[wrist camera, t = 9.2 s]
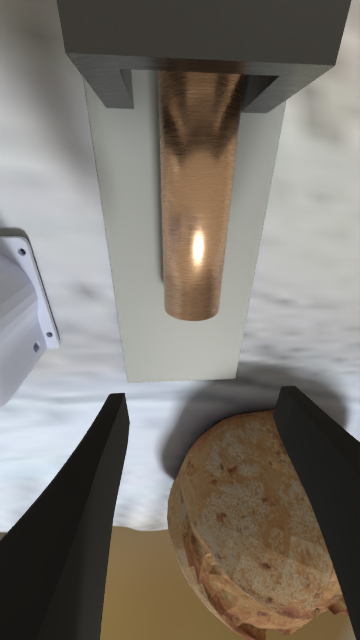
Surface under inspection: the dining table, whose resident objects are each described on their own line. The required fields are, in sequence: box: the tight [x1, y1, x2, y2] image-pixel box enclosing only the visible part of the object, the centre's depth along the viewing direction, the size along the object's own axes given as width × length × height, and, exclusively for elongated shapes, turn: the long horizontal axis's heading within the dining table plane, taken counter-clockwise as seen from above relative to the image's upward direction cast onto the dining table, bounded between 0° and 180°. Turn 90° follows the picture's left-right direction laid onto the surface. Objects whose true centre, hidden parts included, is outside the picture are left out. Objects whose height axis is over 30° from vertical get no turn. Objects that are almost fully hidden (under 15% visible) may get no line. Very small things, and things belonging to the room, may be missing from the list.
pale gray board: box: [83, 69, 286, 383], centre depth 16 cm, size 29×11×1 cm, turn 179°
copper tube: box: [158, 71, 245, 321], centre depth 12 cm, size 18×4×4 cm, turn 179°
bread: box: [167, 409, 349, 640], centre depth 27 cm, size 26×23×15 cm
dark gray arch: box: [57, 0, 351, 113], centre depth 10 cm, size 2×9×6 cm, turn 89°
